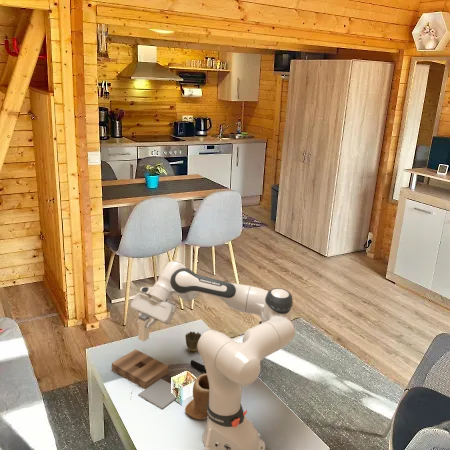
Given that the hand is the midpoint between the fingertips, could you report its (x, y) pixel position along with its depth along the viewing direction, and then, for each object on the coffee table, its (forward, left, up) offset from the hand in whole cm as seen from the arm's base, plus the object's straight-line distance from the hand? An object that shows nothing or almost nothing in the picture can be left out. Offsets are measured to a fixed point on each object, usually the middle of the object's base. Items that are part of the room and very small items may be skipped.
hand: (142, 326), depth 186 cm
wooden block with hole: (+3, -2, -24) cm, 25 cm away
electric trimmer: (-18, -20, -25) cm, 36 cm away
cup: (-4, -29, -24) cm, 38 cm away
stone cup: (-33, -1, -24) cm, 41 cm away
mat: (-14, +3, -24) cm, 28 cm away
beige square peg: (0, -1, -6) cm, 6 cm away
